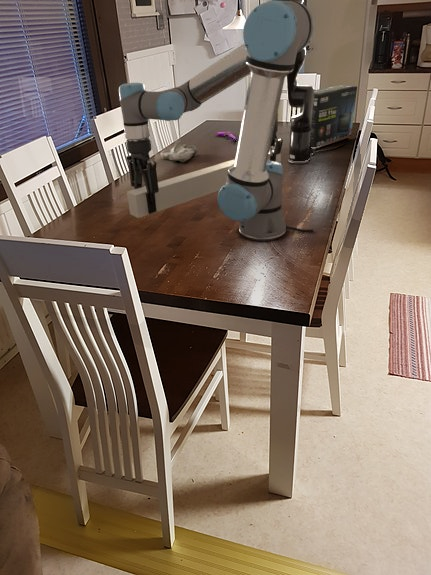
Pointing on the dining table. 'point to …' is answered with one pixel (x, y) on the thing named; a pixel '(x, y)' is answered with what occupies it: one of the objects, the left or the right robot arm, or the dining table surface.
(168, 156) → the fossil
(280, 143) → the right robot arm
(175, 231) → the dining table surface
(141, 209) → the beam
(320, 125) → the router box
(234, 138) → the handgun
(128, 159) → the left robot arm
